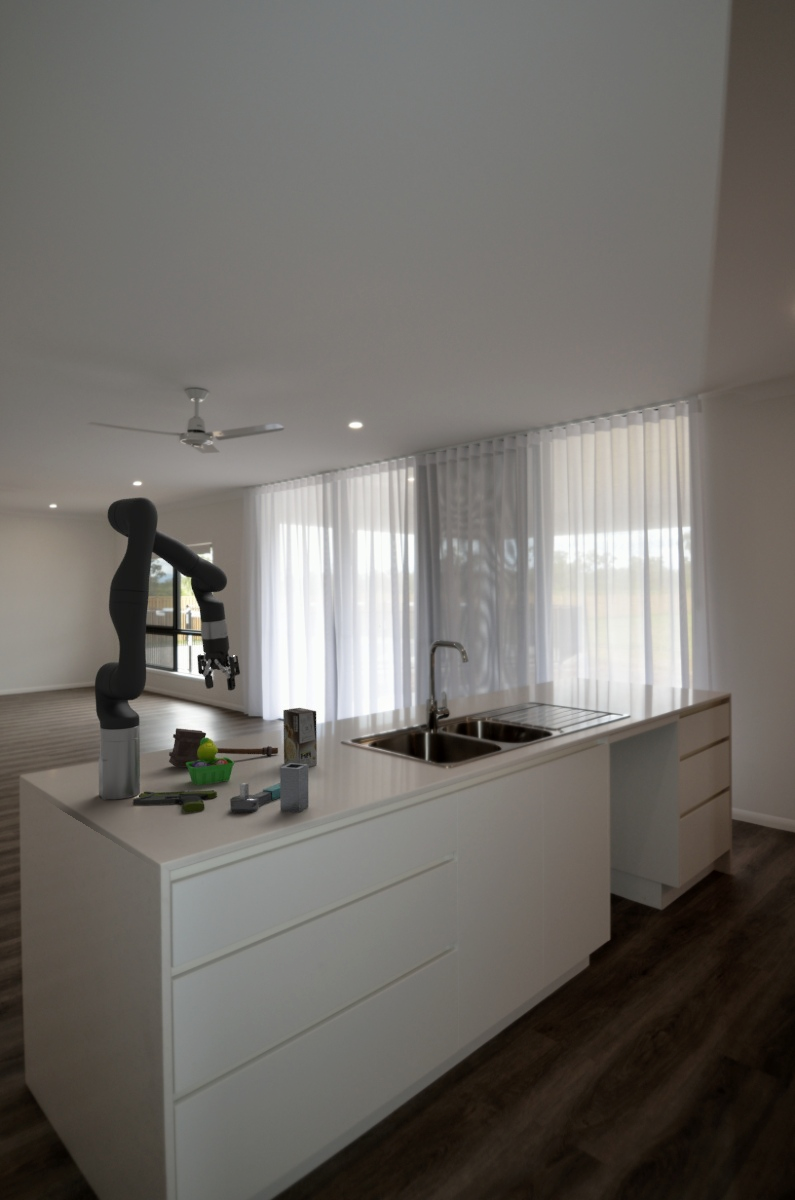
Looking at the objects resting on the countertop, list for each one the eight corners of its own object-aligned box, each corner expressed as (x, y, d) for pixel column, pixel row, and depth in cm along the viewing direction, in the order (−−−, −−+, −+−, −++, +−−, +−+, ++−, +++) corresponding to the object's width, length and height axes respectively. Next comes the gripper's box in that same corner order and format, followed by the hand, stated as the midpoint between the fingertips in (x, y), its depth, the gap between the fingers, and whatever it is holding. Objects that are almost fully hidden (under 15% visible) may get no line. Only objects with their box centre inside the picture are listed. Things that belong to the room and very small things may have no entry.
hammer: (166, 761, 202) (173, 727, 203) (269, 768, 219) (275, 737, 220) (172, 766, 196) (179, 731, 197) (278, 773, 213) (283, 740, 214)
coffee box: (318, 765, 202) (317, 710, 202) (299, 768, 198) (299, 713, 198) (300, 759, 209) (300, 707, 209) (282, 763, 205) (282, 709, 205)
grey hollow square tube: (280, 810, 159) (280, 767, 159) (290, 804, 163) (289, 762, 163) (299, 812, 157) (298, 769, 157) (308, 806, 162) (308, 764, 162)
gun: (121, 818, 157) (141, 800, 172) (205, 814, 158) (218, 796, 173) (121, 806, 157) (141, 790, 172) (205, 803, 158) (218, 786, 173)
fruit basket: (192, 787, 179) (192, 744, 179) (184, 779, 187) (184, 738, 187) (235, 781, 185) (235, 739, 185) (225, 774, 192) (225, 734, 192)
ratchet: (246, 815, 156) (246, 788, 156) (224, 811, 159) (224, 785, 159) (295, 794, 172) (295, 770, 172) (274, 790, 175) (274, 767, 175)
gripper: (187, 637, 202) (194, 690, 204) (224, 638, 195) (230, 693, 197) (206, 632, 209) (212, 684, 211) (241, 633, 202) (247, 687, 204)
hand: (220, 689), depth 204 cm, fingers open, 8 cm apart
